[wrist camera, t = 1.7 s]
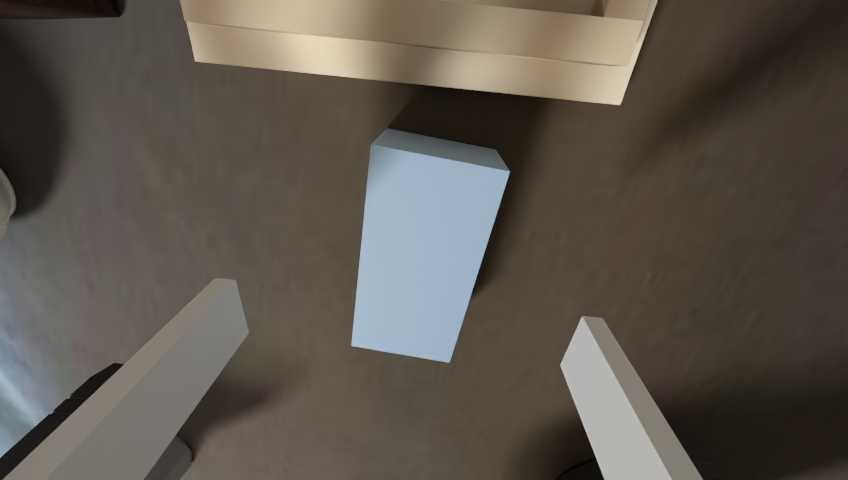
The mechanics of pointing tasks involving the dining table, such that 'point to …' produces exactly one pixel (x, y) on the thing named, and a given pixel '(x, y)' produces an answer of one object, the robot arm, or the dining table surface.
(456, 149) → the blue block
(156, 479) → the coffeepot
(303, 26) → the slot holder
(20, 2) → the coffee grinder
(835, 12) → the dining table surface
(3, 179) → the lidded jar
